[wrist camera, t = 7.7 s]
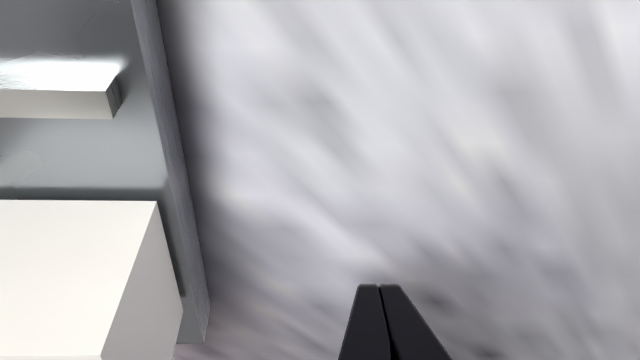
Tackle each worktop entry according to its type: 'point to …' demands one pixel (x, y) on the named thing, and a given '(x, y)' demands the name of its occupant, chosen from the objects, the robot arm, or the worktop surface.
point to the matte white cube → (86, 281)
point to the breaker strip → (98, 122)
